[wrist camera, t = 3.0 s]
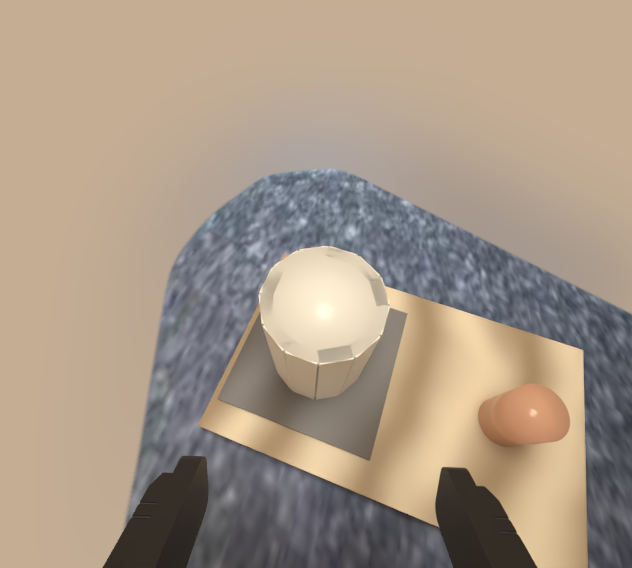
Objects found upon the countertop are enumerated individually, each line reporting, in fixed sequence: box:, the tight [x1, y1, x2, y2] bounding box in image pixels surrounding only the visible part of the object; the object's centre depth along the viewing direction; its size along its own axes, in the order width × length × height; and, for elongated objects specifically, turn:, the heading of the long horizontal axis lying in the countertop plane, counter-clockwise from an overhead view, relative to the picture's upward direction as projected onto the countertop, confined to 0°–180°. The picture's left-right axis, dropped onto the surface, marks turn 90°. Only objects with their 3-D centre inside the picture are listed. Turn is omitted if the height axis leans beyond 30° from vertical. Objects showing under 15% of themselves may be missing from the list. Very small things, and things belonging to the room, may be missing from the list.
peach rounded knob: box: [478, 383, 570, 447], centre depth 21 cm, size 3×3×4 cm
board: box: [198, 254, 588, 568], centre depth 25 cm, size 25×15×2 cm, turn 70°
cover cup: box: [259, 246, 390, 400], centre depth 21 cm, size 6×6×9 cm
